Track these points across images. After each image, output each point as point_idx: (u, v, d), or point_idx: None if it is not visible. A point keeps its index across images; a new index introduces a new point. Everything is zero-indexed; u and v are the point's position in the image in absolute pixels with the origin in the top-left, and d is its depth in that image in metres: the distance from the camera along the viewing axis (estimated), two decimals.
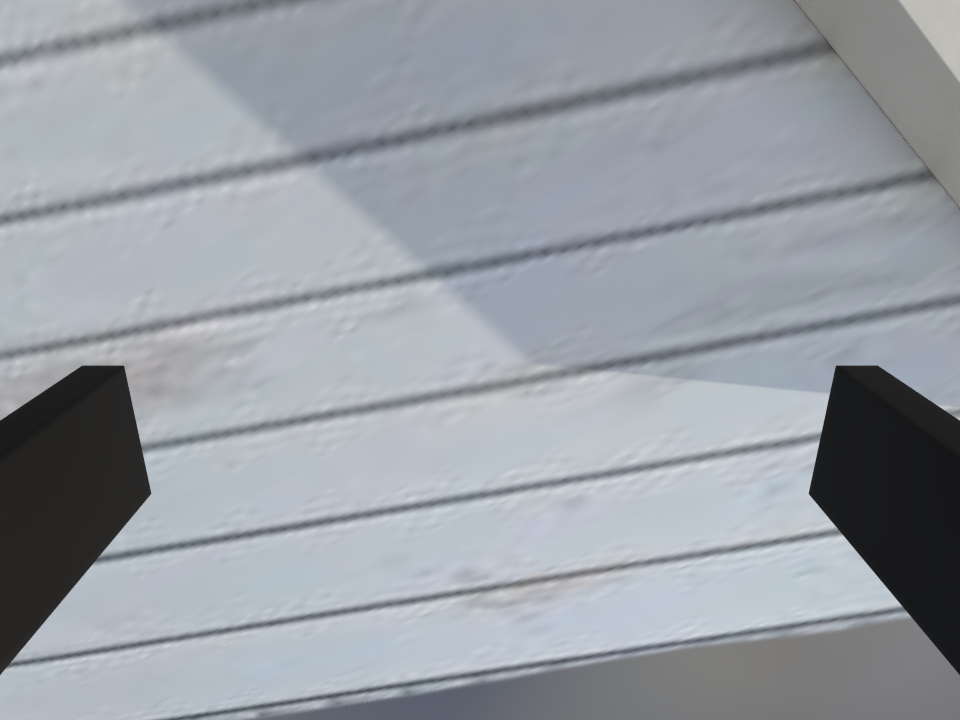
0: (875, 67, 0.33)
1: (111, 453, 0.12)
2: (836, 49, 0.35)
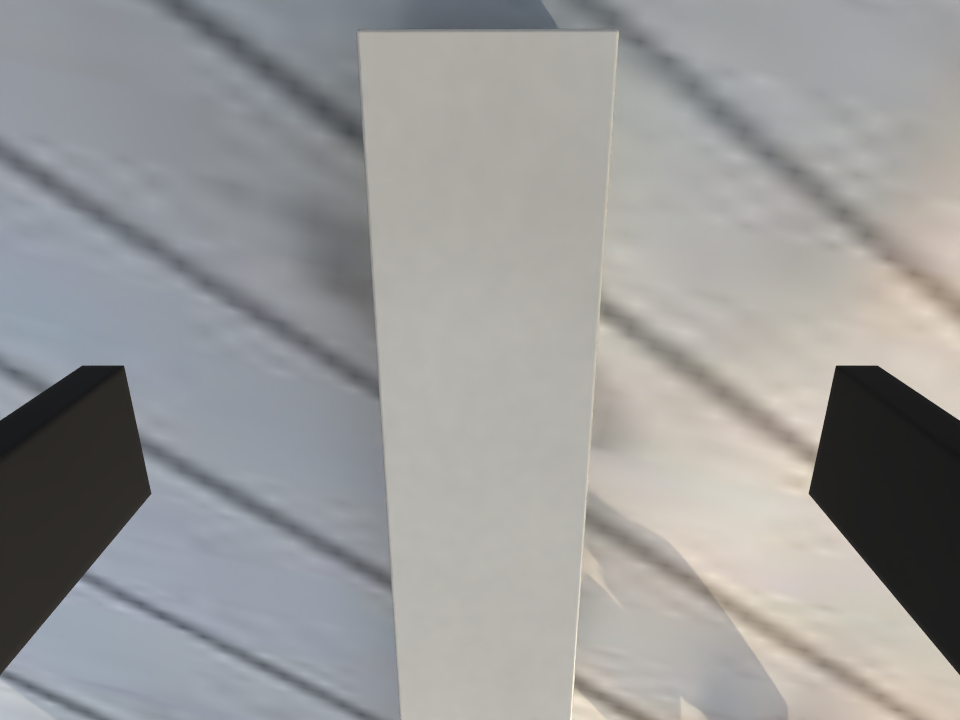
0: None
1: (111, 453, 0.12)
2: None
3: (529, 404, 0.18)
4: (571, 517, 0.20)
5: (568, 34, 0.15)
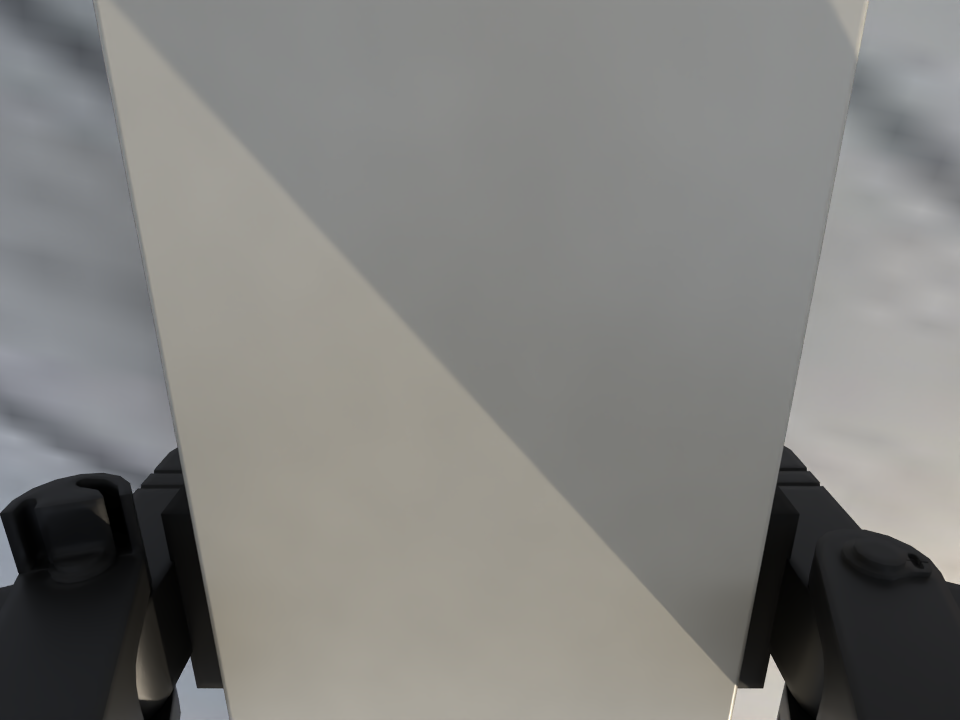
0: None
1: None
2: None
3: None
4: None
5: None
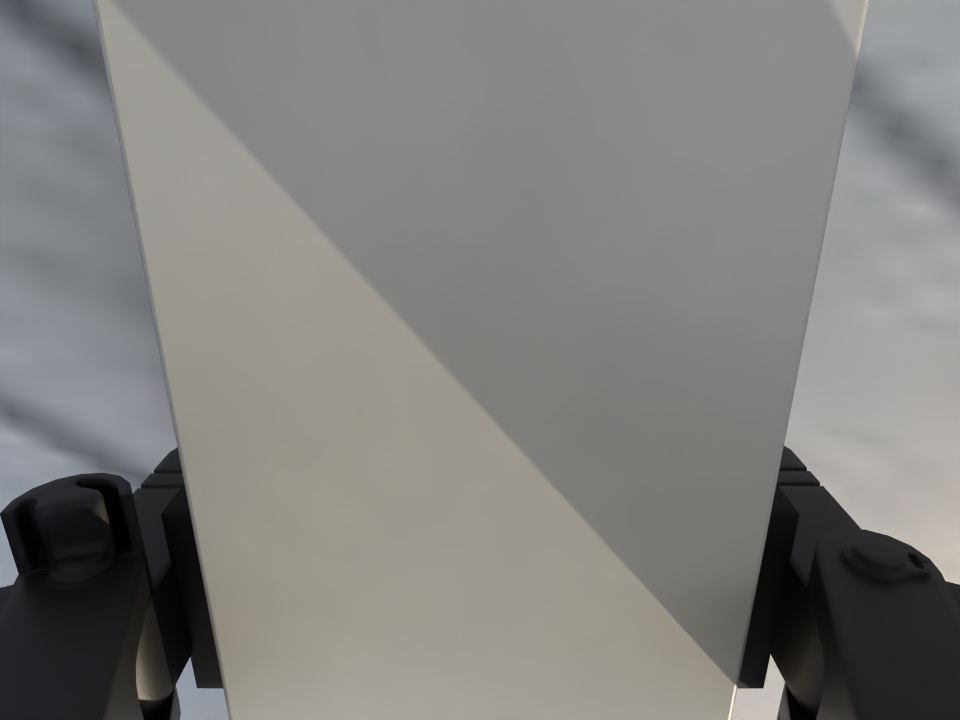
0: None
1: None
2: None
3: None
4: None
5: None
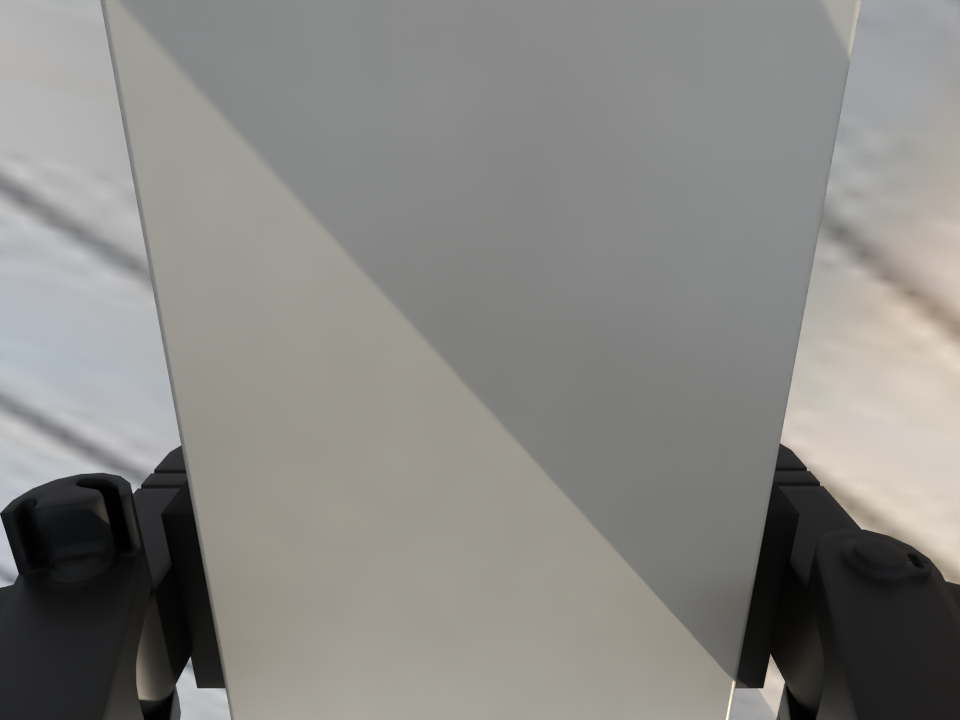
0: None
1: None
2: None
3: None
4: None
5: None
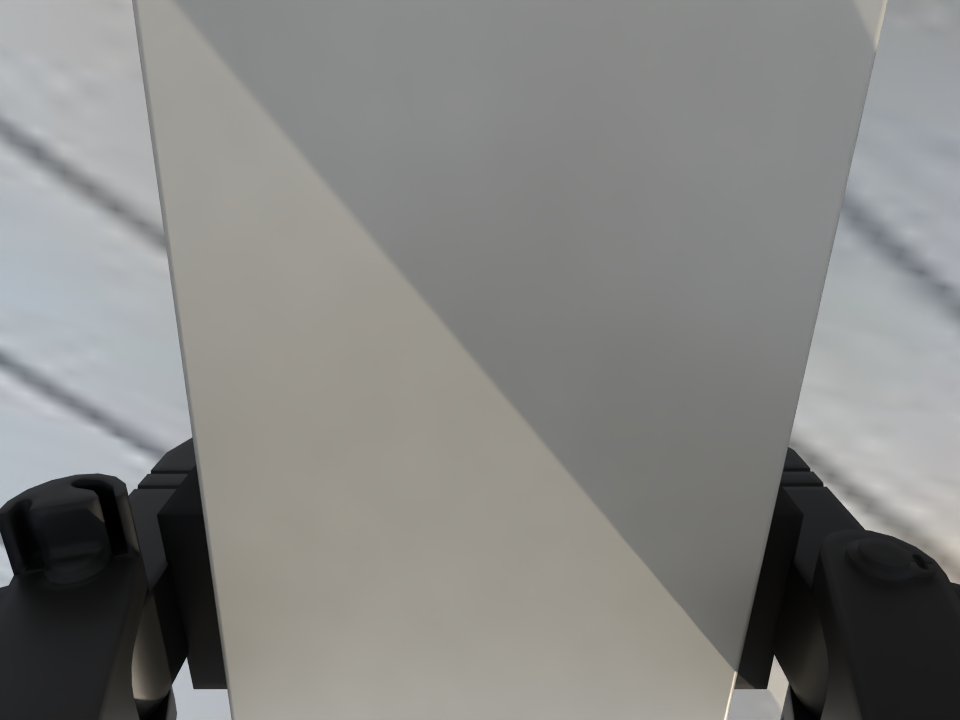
0: None
1: None
2: None
3: None
4: None
5: None
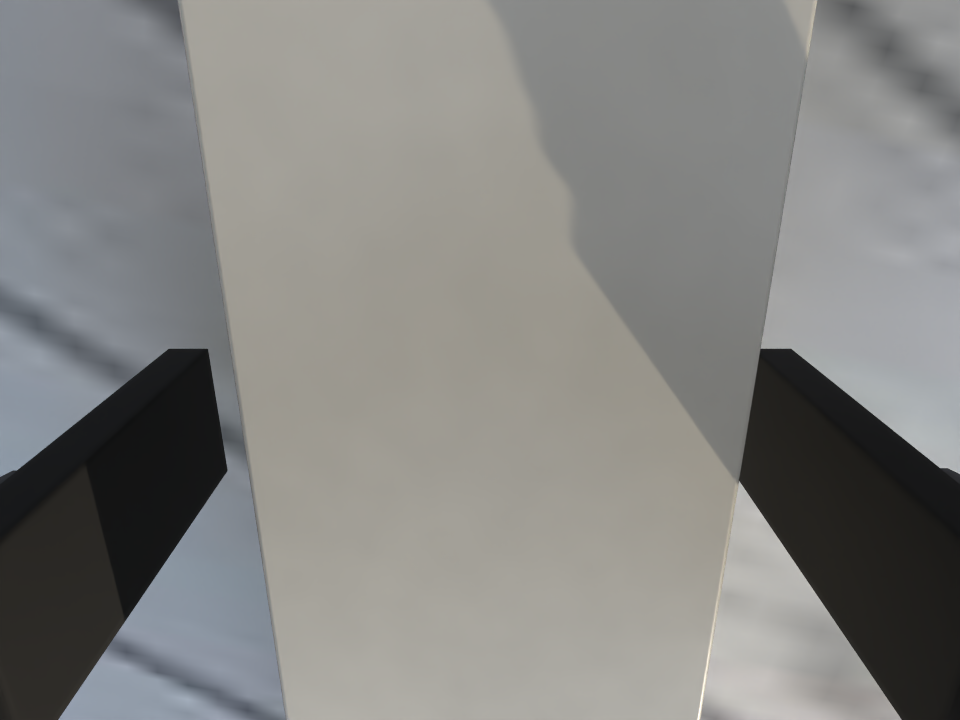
0: None
1: (198, 430, 0.12)
2: None
3: (576, 711, 0.09)
4: None
5: None
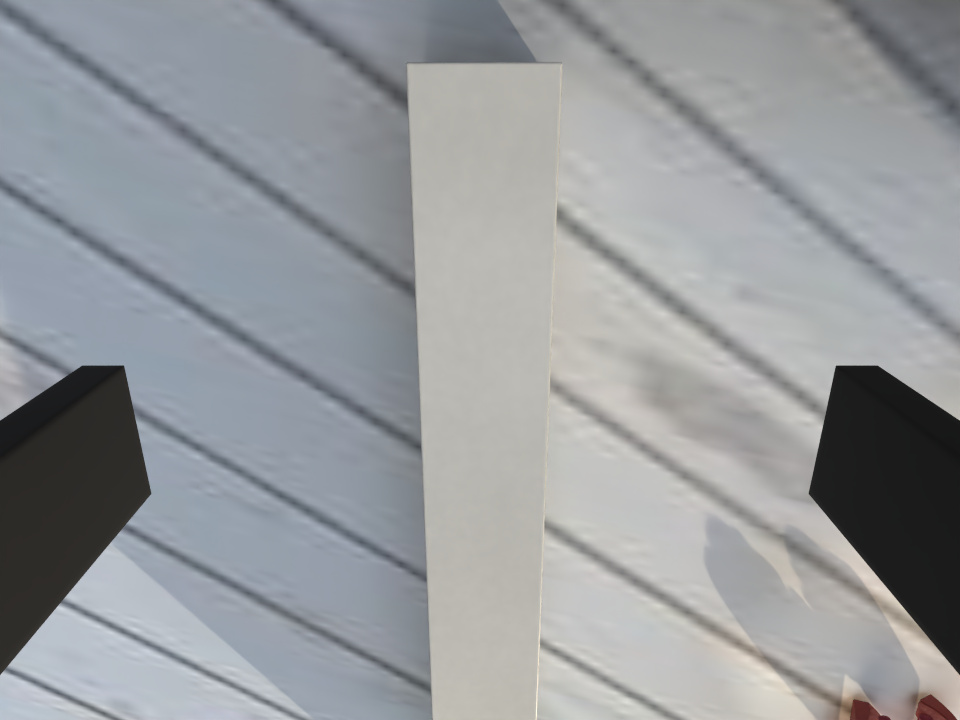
0: None
1: (111, 453, 0.12)
2: None
3: (511, 299, 0.28)
4: (540, 379, 0.30)
5: (532, 65, 0.25)
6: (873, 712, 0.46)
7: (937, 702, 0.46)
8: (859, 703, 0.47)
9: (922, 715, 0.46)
